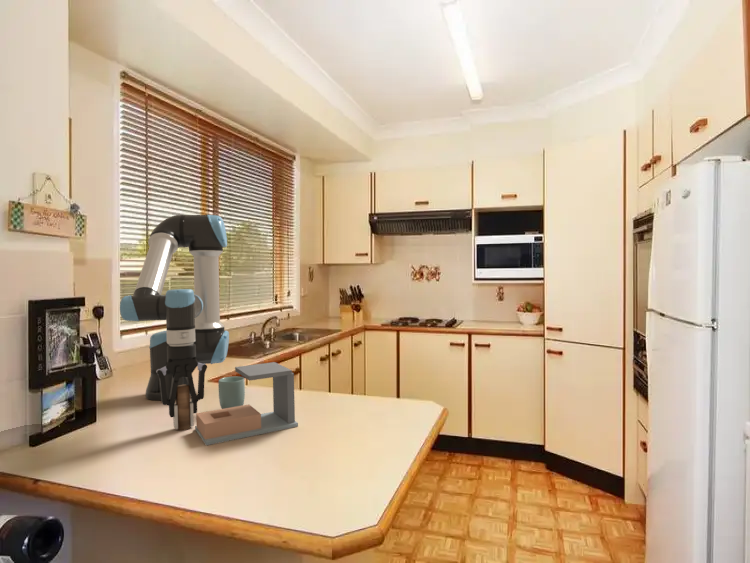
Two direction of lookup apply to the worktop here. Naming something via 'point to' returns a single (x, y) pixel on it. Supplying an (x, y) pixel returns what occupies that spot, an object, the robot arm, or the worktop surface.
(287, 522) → the worktop surface
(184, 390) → the peg
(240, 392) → the cup
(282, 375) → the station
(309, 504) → the worktop surface
